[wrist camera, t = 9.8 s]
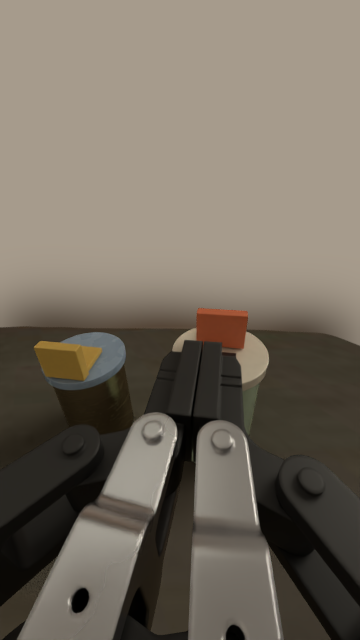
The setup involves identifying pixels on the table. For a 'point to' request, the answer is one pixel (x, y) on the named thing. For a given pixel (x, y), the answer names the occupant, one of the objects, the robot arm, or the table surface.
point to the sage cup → (242, 369)
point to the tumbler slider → (66, 359)
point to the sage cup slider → (222, 327)
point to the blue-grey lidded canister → (97, 387)
